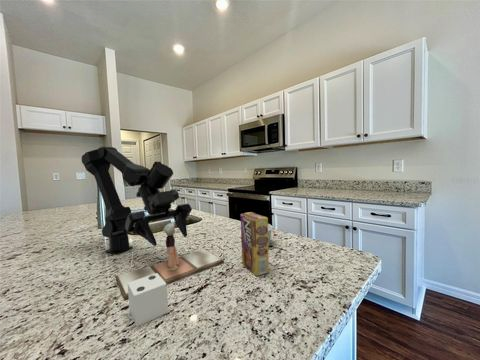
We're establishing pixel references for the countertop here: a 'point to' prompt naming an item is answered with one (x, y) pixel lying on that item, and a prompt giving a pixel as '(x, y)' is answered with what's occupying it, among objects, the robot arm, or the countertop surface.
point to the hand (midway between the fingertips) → (171, 240)
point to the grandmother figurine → (171, 247)
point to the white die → (147, 298)
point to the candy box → (255, 243)
